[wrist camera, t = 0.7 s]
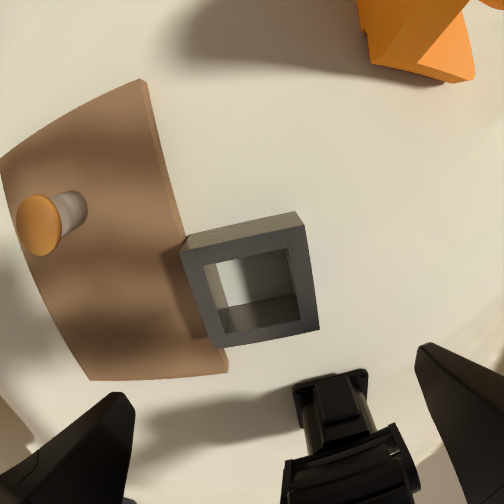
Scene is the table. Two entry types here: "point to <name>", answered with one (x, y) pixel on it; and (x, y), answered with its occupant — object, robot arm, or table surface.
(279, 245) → the grey square frame
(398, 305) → the table surface
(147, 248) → the board
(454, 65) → the bracket
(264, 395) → the table surface
